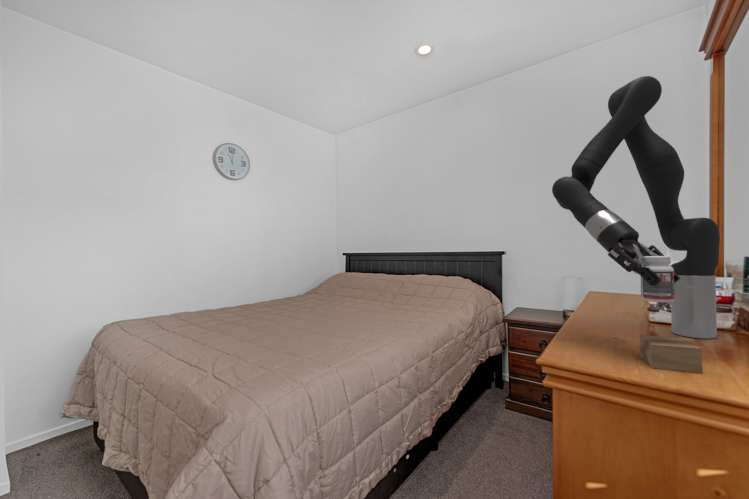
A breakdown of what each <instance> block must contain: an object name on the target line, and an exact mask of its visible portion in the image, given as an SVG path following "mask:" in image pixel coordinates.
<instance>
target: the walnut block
mask: <svg viewBox="0 0 749 499" xmlns="http://www.w3.org/2000/svg"><path fill="white" fill-rule="evenodd" d="M639 356H640V357H641V359H643V361H645V363H646V364H647V365H648V366H649V367H650V368H652V369H656V370H657V369H658V370H668V371H677V372H688V373H694V374H695V373H696V374H703V349H702V348H701V347H700V346H698V345H697V344H695V343H693V342H691V341H689V340H688V339H686V338H683V337H682V338H681V337H670V336H658V335H657V336H655V335H644V334H643V335H641V334H640V335H639Z"/></svg>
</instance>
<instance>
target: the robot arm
mask: <svg viewBox="0 0 749 499" xmlns="http://www.w3.org/2000/svg"><path fill="white" fill-rule="evenodd" d="M662 89H663V88H662V84H661V82H660V81H659V80H658V79H657V78H656V77H654V76H650V75H646V76H645V75H644V76H640V77H638V78H635V79H632V80H631V81H629V82H628V83H627V84H624V85H623V86H621V87H619V88H618V89H616V90H615V91H613V92H612V94H610V96H609V98H608V101H607V107H608V108H607V109H608V113H609V115H610V116H611V119H609V120H608V122H607V123H606V124H605V125H604V126H603V127H602V128H601V129H600V130H599V131H598V132H597V133H596V134H595V135H594V136H593V137H592V138H591V140H589V142H588V143H587V144H586V145H585V147H584V148H583V149H582V150H581V152H580V153H579V155H578V156H577V157H576V159H575V161H574V162H573V164H572V166H571V171H570V172H571V175H570V176H563V177H560V178H558V179H557V180H555V182H554V183H553V184H552V188H551V193H552V196H553V197H554V198H555V200H556V201H557V203H558V205H559V206H560V207H561V208H563V209H564V210H567V211H570V212H571V213H572V215H573V217H574V218H575V220H576V221H577V222H578V223H579V224H580V225H581V226H582V227H584V228H585V230H586V231H587V233H588V234H589V235H590V236H591V237H592V238H593V239H594V240H595V241H597V243H598V244H599V245H600V246H601V247H602V248H603V249H604V250H605V251H606V252H608V253H607V256H609V257H610V258H611V259H612V260H613V261H614V262H615V263H617V264H618V265H619V266H620V267H622V268H623V269H624V270H625V271H626V272H628V273H631V272H633V273H634V274H637V275H639V276H640V278H641V277H642V278H643V279H645V280H646V281H647V282H648V283H649V284H650V285H651V286H655V285H657V284H658V283H659V282H661V278H660V277H658V276H657V275H656V274H655V273H654V272H653V271H652V270H651V269H650V268H649V267H647V266H646V264H645V263H644V261H643V259H644V257H645V256H665V255H664V254H663V252H662V251H660V250H659V248H657V247H656V245H653V244H651V245H650V246H649V247H647V246H646V245H644V244H643V243H641V242H639V237H640V233H639V232H638V231H637V230H636V229H635V228H633V227H632V226H631V225H630V224H629V223H628V222H626V220H624V219H623V218H622V217H620V216H619V214H616V213H615V212H613V211H612V210H611V209H609V208H608V207H607V206H606V205H605V204H603V203H602V202H601V201H600V200H598V199H597V198H596V197H595V196H594V195H593V194H592V193H591V191H592V189H593V186H594V184H595V181H596V178H597V177H598V175H599V174H600V172H601V171H602V169H603V168H604V167H605V165H606V163H607V162H608V161H609V159H610V158H611V157H612V155H613V154H614V152H615V151H616V149H617V148H618V147H619V146H620V145H621V143H622V142H623V141H625V144H626V146H627V148H628V151H629V153H630V154H631V158H632V159H633V161H634V164H635V167H636V170H637V172H638V175H639V177H640V180H641V181H642V184H643V186H644V188H645V191H646V194H647V196H648V198H649V201H650V204H651V206H652V209H653V212H654V216H655V220H656V223H657V227H658V232H659V234H660V237H661V238H660V239H662V242H663V244H664V245H665V246H666V247H667V248H669V249H670V250H672V251H680V252H681V251H683V252H684V251H685V252H686V254H685V257H684V259H682V260H680V261H678V262H674V263H672V262H670V263H669V265H670V264H671V263H672V264H671V265H670V266H671V267H672V268H673V269H674V288H675V300H674V301H673V302H670V310H671V312H670V313H671V315H670V316H671V317H670V318H671V319H670V320H671V333H673V334H675V335H677V336H682V337H687V338H696V339H704V340H705V339H709V340H710V339H717V337H718V330H717V327H718V326H717V324H718V322H717V290H716V285H717V283H716V282H717V281H716V269H717V267H718V265H719V261H720V260H719V259H720V258H719V256H720V244H721V243H720V241H721V240H720V239H721V238H720V236H721V235H720V229H719V227H718V224H717V223H716V222H715V220H713V219H711V218H710V217H709V218H708V217H695V218H694V217H693V218H684V215H683V214H682V212H681V209H680V206H679V196H680V192H681V190H682V186H683V183H684V179H685V168H684V166H683V164H682V161H681V158H680V156H679V154H678V152H677V150H676V148H674V147H673V146H672V144H670V143H669V142H668V141H667V140H665V139H664V138H662V137H661V136H660V135H658V133H656V132H655V131H654V130H653V129H652V128H651V127H650V125H649V123H648V121H647V119H646V115H647V114H648V113H649V112H650V110H652V109H653V108H654V107H655V105H657V104H658V102H659V100H660V99H661V96H662V91H663V90H662ZM645 267H646V268H645Z"/></svg>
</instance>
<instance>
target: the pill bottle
mask: <svg viewBox="0 0 749 499" xmlns="http://www.w3.org/2000/svg"><path fill="white" fill-rule="evenodd" d="M671 258H672V257H671V256H669V255H664V256H645V257H644V259H643V261H644V263H645V264H646V266H647V267H649V268H650V269H651V270H652V271H653V272H654V273H655V274H656V275H657V276H658V277H660V278H661V282H659V283H658V284H657V285H655V286H651V285H650V284H649V283H648V282H647V281H646V280H645V279H643V278H642V277H641V276H640V296H641V299H642V300H643V301H647V302H655V303H671V302H673V301H674V300H675V288H674V269H673V268H672V267H671V265H670V264H671V263H672V262H671V261H672V260H671ZM670 262H671V263H670ZM669 263H670V264H669ZM645 268H646V267H645Z"/></svg>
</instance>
